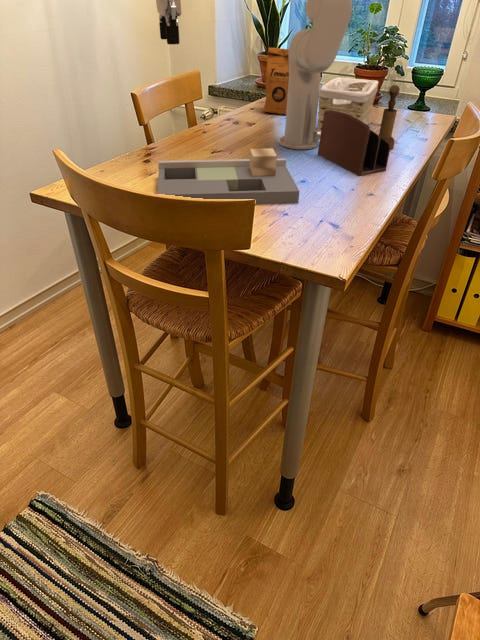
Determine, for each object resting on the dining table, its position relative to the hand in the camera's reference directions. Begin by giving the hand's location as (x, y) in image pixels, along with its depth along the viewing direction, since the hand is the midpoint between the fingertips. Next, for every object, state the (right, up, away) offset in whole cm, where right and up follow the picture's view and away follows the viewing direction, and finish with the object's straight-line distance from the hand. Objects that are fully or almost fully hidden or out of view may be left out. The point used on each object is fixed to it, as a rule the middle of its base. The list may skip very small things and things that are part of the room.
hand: (169, 41), depth 124 cm
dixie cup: (+61, +6, +57) cm, 83 cm away
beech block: (+25, -36, -3) cm, 44 cm away
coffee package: (+34, +6, +57) cm, 66 cm away
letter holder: (+52, -28, +13) cm, 60 cm away
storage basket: (+56, -7, +41) cm, 69 cm away
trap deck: (+15, -41, -5) cm, 44 cm away
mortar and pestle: (+65, -19, +26) cm, 72 cm away
